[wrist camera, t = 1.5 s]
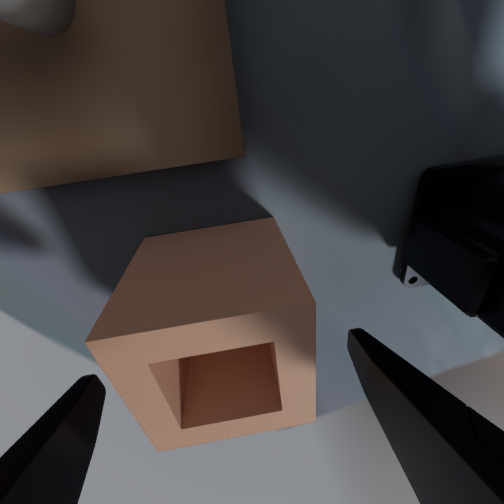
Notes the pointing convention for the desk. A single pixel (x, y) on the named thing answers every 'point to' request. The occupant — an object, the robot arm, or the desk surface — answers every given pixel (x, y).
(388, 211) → the desk surface
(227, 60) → the pin board
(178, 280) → the collar
